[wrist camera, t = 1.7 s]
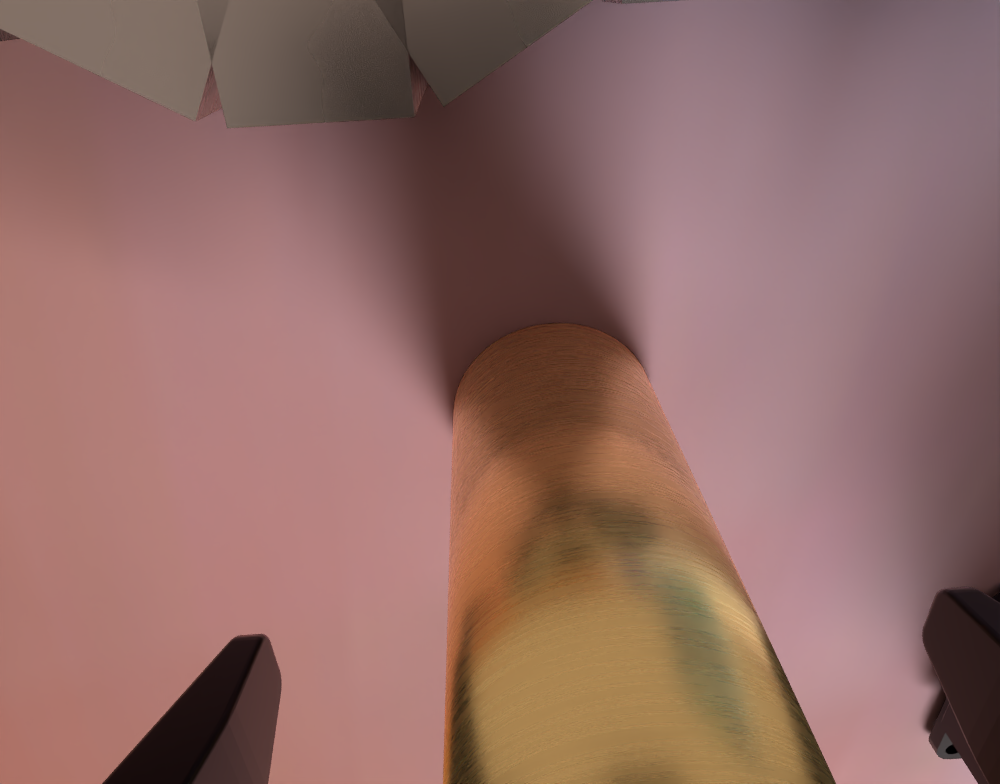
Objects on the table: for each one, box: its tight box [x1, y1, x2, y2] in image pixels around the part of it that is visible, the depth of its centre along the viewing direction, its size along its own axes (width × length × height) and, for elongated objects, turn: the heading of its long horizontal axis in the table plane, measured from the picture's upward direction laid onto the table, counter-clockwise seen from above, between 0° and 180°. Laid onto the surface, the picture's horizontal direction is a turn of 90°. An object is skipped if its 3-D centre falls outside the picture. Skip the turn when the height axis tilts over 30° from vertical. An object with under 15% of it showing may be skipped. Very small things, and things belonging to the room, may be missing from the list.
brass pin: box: [443, 323, 836, 784], centre depth 10 cm, size 5×5×10 cm
